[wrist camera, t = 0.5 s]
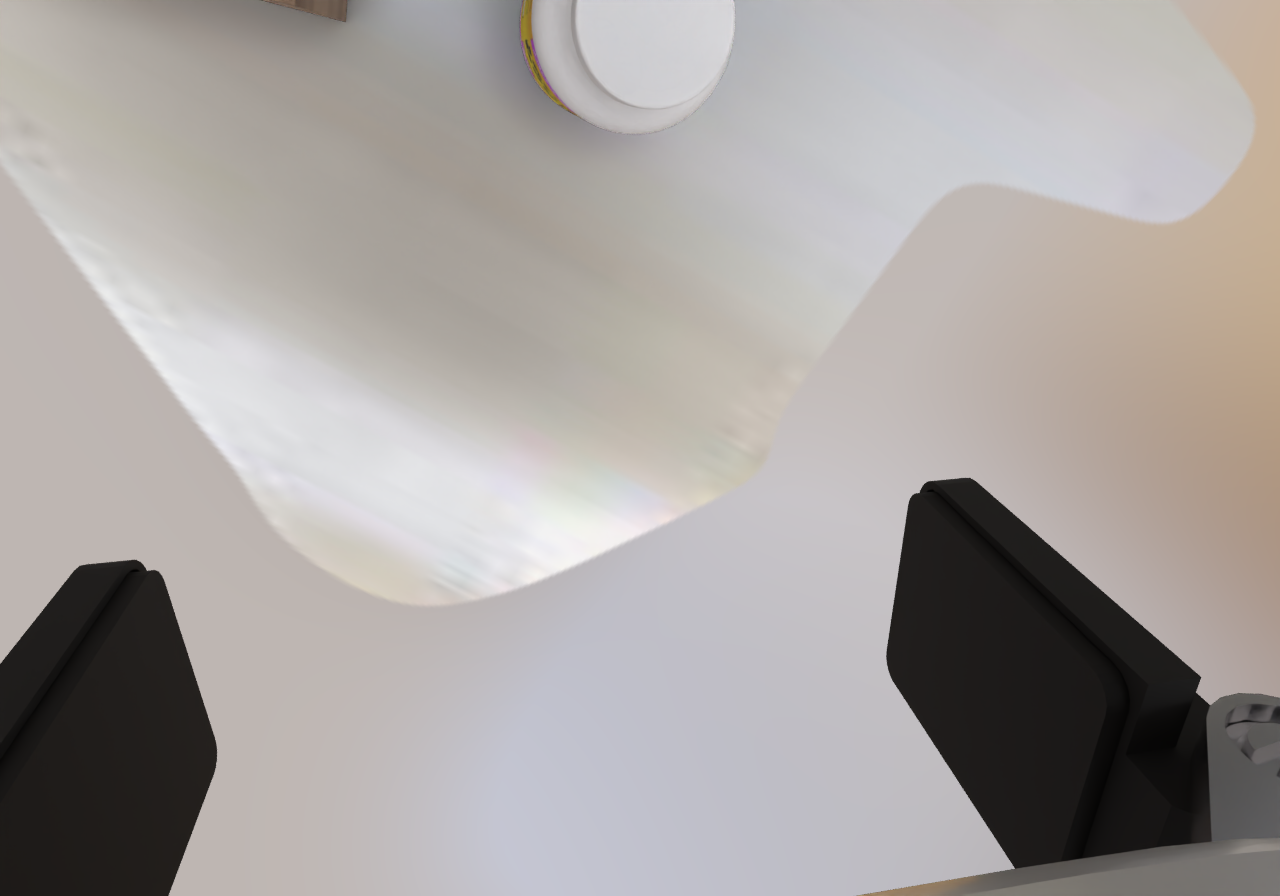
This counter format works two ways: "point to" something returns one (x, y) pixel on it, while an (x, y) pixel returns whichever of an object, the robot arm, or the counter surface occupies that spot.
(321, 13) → the walnut block
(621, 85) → the supplement bottle
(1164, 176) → the counter surface
